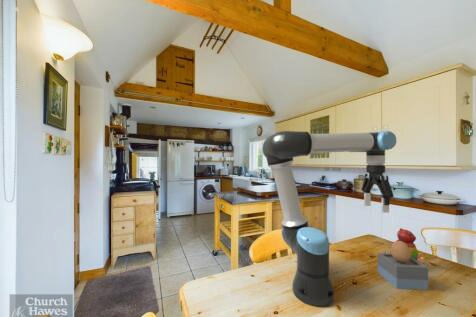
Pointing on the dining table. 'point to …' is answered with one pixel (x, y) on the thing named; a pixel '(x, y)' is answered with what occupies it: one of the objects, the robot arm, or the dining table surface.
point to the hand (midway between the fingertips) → (375, 208)
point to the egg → (400, 251)
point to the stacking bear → (408, 241)
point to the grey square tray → (403, 272)
